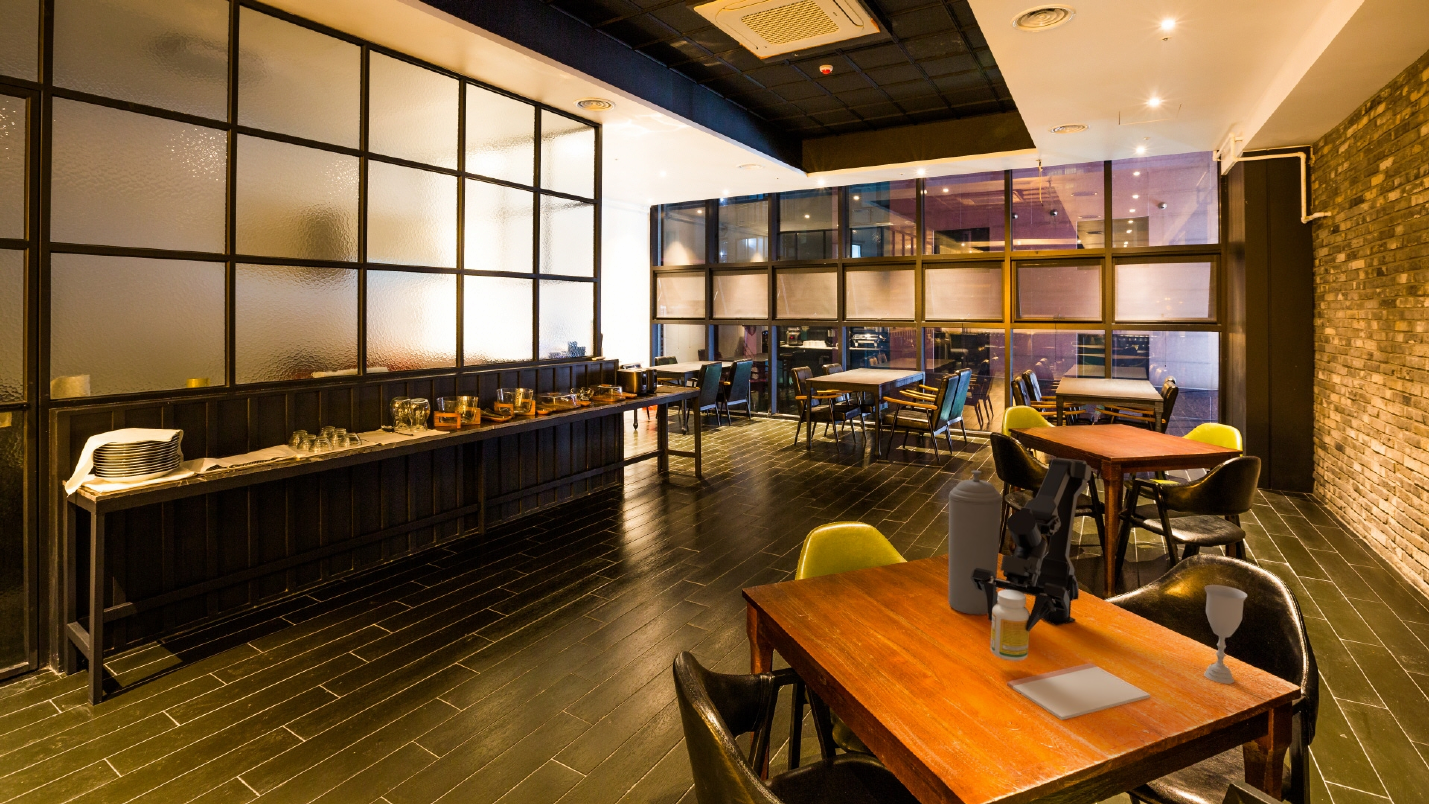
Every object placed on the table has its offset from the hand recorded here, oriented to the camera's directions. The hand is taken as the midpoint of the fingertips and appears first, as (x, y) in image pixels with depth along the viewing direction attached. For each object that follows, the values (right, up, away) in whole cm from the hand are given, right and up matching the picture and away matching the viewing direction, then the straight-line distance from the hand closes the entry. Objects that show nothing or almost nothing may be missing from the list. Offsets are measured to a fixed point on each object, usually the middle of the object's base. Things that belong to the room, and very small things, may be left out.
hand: (1008, 625), depth 147 cm
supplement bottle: (+1, -7, +2) cm, 7 cm away
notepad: (+11, -11, -7) cm, 17 cm away
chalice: (+42, -10, -2) cm, 43 cm away
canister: (+5, -6, +34) cm, 35 cm away
